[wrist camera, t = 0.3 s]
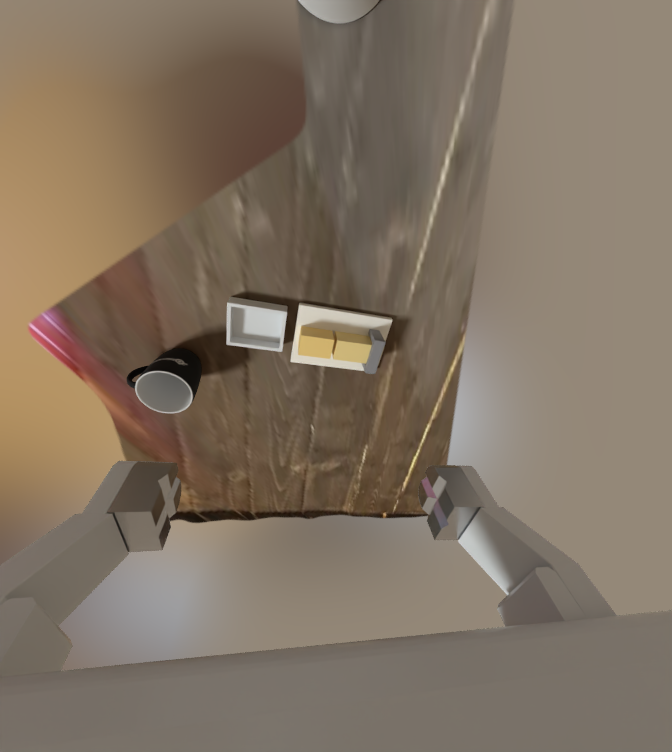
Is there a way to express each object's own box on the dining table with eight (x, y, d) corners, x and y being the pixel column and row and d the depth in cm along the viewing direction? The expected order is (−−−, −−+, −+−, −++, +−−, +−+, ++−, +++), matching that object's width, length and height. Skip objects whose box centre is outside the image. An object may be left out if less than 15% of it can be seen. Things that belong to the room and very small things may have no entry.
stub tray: (230, 296, 52) (227, 302, 50) (287, 305, 54) (287, 311, 52) (229, 337, 56) (226, 344, 54) (282, 344, 58) (281, 351, 56)
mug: (204, 343, 56) (188, 371, 48) (210, 381, 61) (196, 414, 53) (135, 340, 54) (106, 369, 46) (147, 380, 59) (122, 413, 51)
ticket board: (299, 302, 54) (299, 315, 49) (390, 317, 58) (400, 331, 53) (290, 358, 60) (290, 375, 55) (374, 369, 64) (380, 385, 59)
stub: (301, 325, 55) (301, 335, 52) (332, 330, 57) (334, 339, 53) (297, 344, 57) (298, 354, 54) (328, 348, 59) (330, 359, 55)
